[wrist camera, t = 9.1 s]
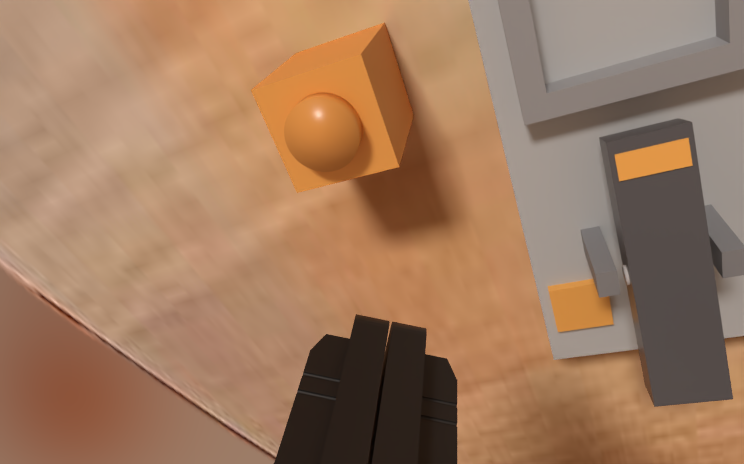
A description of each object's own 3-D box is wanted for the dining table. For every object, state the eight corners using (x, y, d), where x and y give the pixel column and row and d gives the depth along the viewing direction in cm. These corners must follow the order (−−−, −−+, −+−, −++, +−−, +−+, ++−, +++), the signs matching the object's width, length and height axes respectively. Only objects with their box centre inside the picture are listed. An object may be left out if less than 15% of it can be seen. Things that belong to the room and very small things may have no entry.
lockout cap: (413, 115, 25) (396, 175, 20) (330, 138, 27) (291, 202, 21) (384, 22, 23) (356, 59, 18) (296, 53, 25) (243, 96, 19)
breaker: (720, 376, 22) (736, 400, 21) (642, 385, 23) (652, 408, 21) (681, 117, 20) (696, 121, 18) (596, 138, 21) (603, 143, 19)
